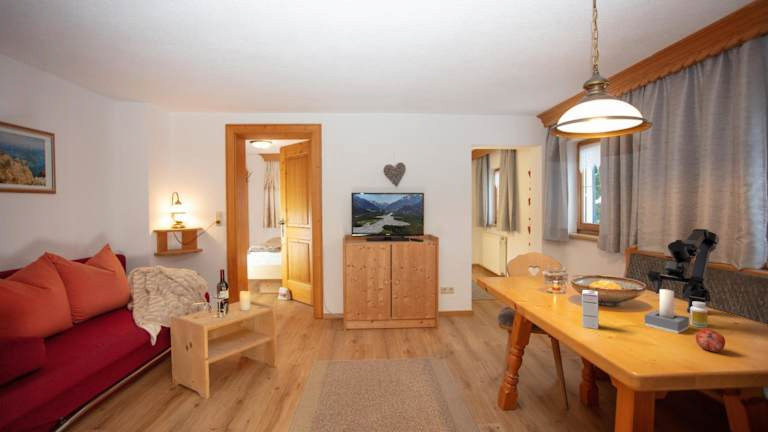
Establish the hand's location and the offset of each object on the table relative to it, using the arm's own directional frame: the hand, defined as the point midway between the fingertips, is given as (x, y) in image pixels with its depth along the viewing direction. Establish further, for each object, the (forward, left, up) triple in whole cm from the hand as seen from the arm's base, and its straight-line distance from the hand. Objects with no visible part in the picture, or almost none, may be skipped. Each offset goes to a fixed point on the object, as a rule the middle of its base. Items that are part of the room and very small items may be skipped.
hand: (669, 295), depth 140 cm
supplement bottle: (-7, +9, -13) cm, 17 cm away
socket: (+3, -1, -12) cm, 13 cm away
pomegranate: (+22, +11, -13) cm, 28 cm away
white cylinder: (+3, -1, -11) cm, 12 cm away
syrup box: (+22, -25, -13) cm, 36 cm away
